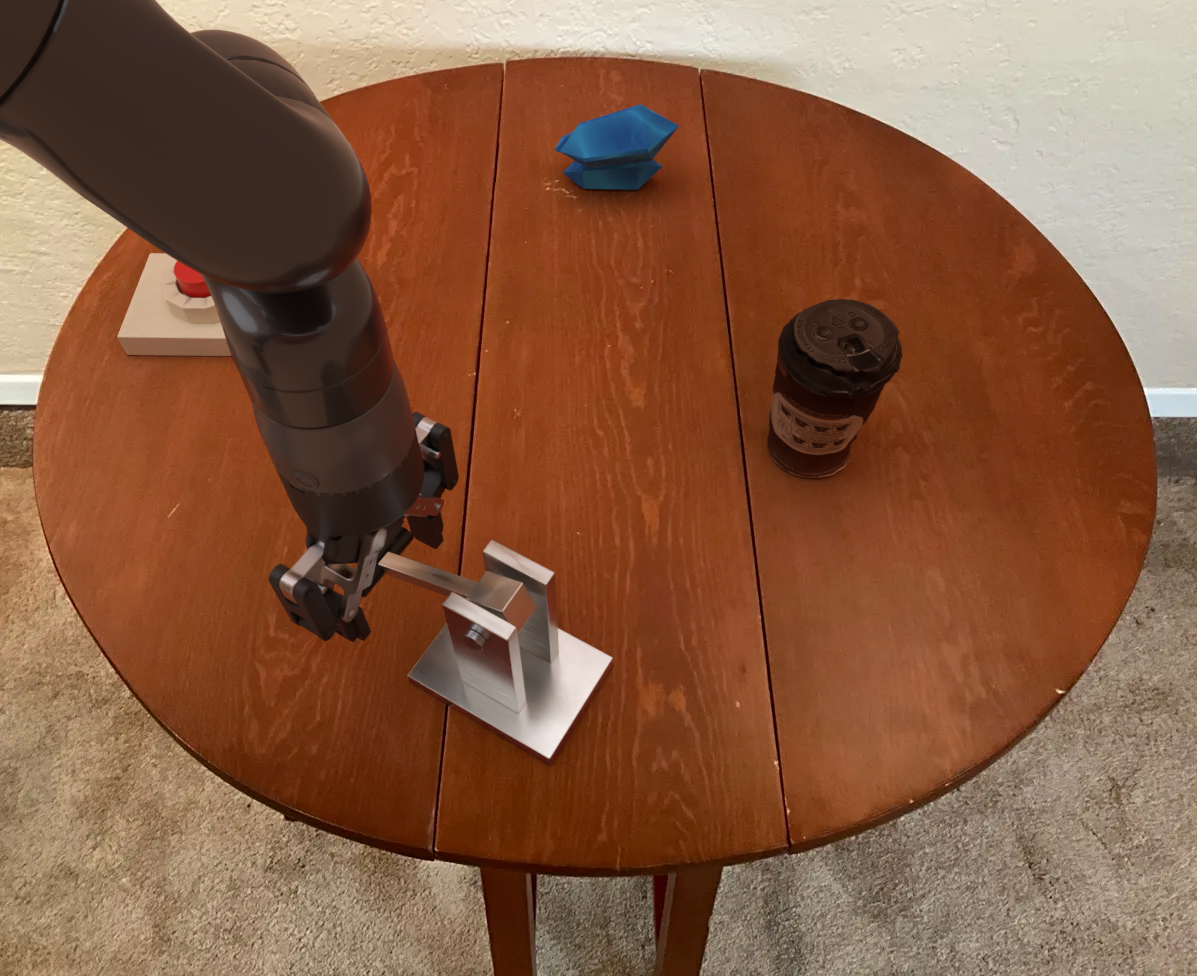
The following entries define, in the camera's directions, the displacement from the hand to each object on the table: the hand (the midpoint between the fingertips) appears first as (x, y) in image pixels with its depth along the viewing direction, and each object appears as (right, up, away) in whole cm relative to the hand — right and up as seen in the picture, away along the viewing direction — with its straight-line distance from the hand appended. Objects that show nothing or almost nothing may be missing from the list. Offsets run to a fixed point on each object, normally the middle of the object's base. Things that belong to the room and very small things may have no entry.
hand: (392, 584), depth 64 cm
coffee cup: (+30, +9, +12) cm, 33 cm away
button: (-19, +23, +16) cm, 34 cm away
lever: (+4, 0, -4) cm, 6 cm away
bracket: (+8, -6, +1) cm, 10 cm away
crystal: (+15, +36, +30) cm, 49 cm away
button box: (-19, +21, +19) cm, 34 cm away
